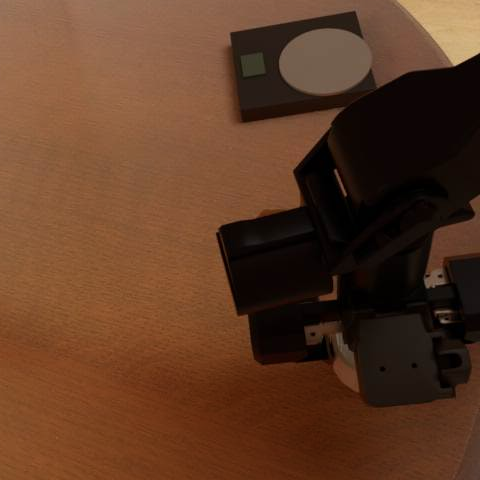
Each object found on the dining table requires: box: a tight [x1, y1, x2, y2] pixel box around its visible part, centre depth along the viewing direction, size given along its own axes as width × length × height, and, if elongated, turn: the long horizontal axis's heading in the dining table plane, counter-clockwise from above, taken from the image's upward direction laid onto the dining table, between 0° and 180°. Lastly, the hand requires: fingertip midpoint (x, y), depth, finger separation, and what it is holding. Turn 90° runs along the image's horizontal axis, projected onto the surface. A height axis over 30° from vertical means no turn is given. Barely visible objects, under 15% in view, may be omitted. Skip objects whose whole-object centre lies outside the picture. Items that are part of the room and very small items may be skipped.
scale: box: [229, 10, 378, 123], centre depth 81 cm, size 14×12×2 cm
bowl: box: [330, 321, 359, 393], centre depth 61 cm, size 6×6×4 cm
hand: (371, 355), depth 62 cm, fingers closed on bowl, 6 cm apart
